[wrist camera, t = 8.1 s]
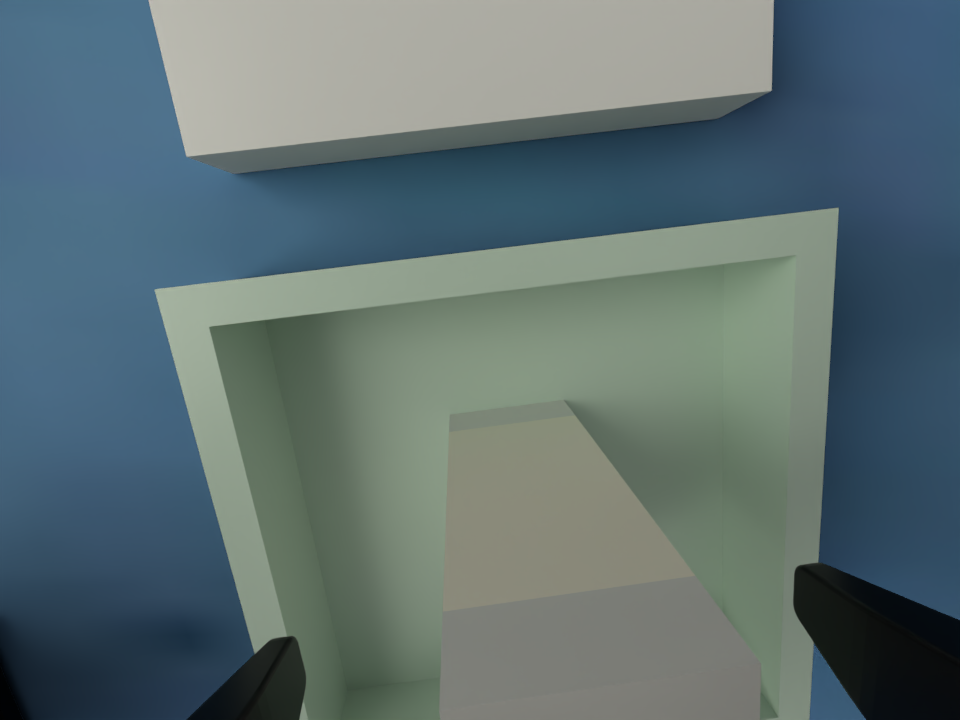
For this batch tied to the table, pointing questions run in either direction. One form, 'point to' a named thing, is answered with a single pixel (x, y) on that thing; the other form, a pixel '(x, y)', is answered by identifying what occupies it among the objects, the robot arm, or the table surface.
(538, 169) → the table surface
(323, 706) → the parts tray
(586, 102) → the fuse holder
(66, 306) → the table surface
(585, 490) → the block
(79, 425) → the table surface
